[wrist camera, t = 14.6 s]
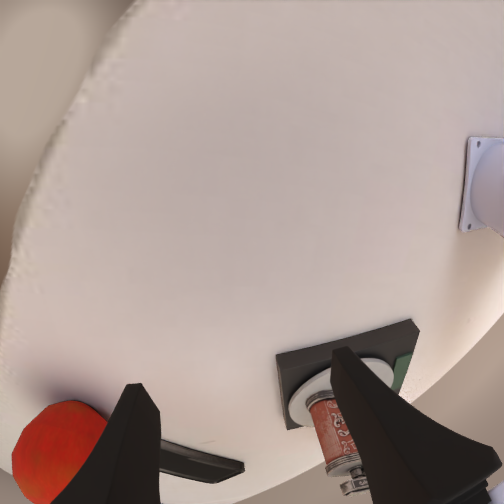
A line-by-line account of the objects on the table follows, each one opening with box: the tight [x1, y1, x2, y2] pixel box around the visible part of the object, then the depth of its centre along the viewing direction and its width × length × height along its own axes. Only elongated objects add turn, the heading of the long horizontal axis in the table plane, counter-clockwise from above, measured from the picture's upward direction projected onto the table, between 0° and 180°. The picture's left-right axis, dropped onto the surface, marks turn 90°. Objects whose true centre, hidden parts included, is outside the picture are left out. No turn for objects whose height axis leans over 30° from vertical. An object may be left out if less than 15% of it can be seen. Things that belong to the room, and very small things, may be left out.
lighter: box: [305, 389, 370, 497], centre depth 21 cm, size 8×3×10 cm, turn 68°
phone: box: [159, 440, 245, 484], centre depth 33 cm, size 8×1×15 cm
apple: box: [12, 400, 108, 504], centre depth 21 cm, size 12×12×14 cm
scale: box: [276, 319, 420, 430], centre depth 27 cm, size 13×11×3 cm
